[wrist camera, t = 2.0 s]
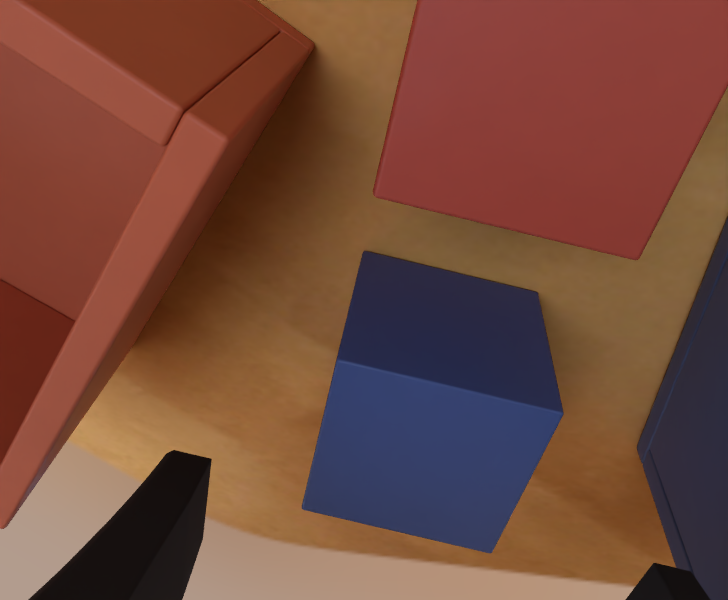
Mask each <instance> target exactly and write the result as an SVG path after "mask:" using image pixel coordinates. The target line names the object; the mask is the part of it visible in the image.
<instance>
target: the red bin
mask: <svg viewBox="0 0 728 600" xmlns="http://www.w3.org/2000/svg"><path fill="white" fill-rule="evenodd" d="M313 48H314V43H313V42H312V41H311V40H309V39H308V38H307V37H305V36H304V35H303V34H301V33H300V32H299V31H297V30H296V29H294V28H293V27H292V26H290V25H289V24H288V23H286V22H285V21H284V20H282V19H281V18H279V17H278V16H277V15H275V14H274V13H273V12H271V11H270V10H268V9H267V8H266V7H264V6H263V5H262V4H260V3H259V2H258V1H256V0H0V528H1V529H4V528H5V527H7V526H8V524H9V522H10V521H11V520H12V518H13V517H14V515H15V514H16V513H17V511H18V510H19V508H20V507H21V505H22V504H23V502H24V501H25V500H26V498H27V497H28V495H29V494H30V493H31V491H32V490H33V488H34V487H35V485H36V484H37V483H38V481H39V480H40V478H41V477H42V475H43V474H44V473H45V471H46V470H47V468H48V467H49V465H50V464H51V463H52V461H53V460H54V458H55V457H56V455H57V454H58V453H59V451H60V450H61V448H62V447H63V445H64V444H65V443H66V441H67V440H68V438H69V437H70V435H71V434H72V433H73V431H74V430H75V428H76V427H77V425H78V424H79V422H80V421H81V420H82V418H83V417H84V415H85V414H86V412H87V411H88V410H89V408H90V407H91V405H92V404H93V402H94V401H95V400H96V398H97V397H98V395H99V394H100V392H101V391H102V390H103V388H104V387H105V385H106V384H107V382H108V381H109V380H110V378H111V377H112V375H113V374H114V372H115V371H116V370H117V368H118V367H119V365H120V364H121V362H122V361H123V360H124V358H125V357H126V355H127V354H128V352H129V351H130V349H131V348H132V346H133V344H134V343H135V341H136V339H137V338H138V336H139V334H140V333H141V331H142V330H143V328H144V326H145V325H146V323H147V321H148V320H149V318H150V316H151V315H152V313H153V311H154V310H155V308H156V306H157V305H158V303H159V302H160V300H161V298H162V297H163V295H164V293H165V292H166V290H167V288H168V287H169V285H170V283H171V282H172V280H173V278H174V277H175V275H176V274H177V272H178V270H179V269H180V267H181V265H182V264H183V262H184V260H185V259H186V257H187V255H188V254H189V252H190V250H191V249H192V247H193V246H194V244H195V242H196V241H197V239H198V237H199V236H200V234H201V232H202V231H203V229H204V227H205V226H206V224H207V222H208V221H209V219H210V218H211V216H212V214H213V213H214V211H215V209H216V208H217V206H218V204H219V203H220V201H221V199H222V198H223V196H224V194H225V193H226V191H227V190H228V188H229V186H230V185H231V183H232V181H233V180H234V178H235V176H236V175H237V173H238V171H239V170H240V168H241V166H242V165H243V163H244V162H245V160H246V158H247V157H248V155H249V153H250V152H251V150H252V148H253V147H254V145H255V143H256V142H257V140H258V138H259V137H260V135H261V134H262V132H263V130H264V129H265V127H266V125H267V124H268V122H269V120H270V119H271V117H272V115H273V114H274V112H275V111H276V109H277V107H278V106H279V104H280V102H281V101H282V99H283V97H284V96H285V94H286V92H287V91H288V89H289V87H290V86H291V84H292V83H293V81H294V79H295V78H296V76H297V74H298V73H299V71H300V69H301V68H302V66H303V64H304V63H305V61H306V59H307V58H308V56H309V55H310V53H311V51H312V50H313Z"/></svg>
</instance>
